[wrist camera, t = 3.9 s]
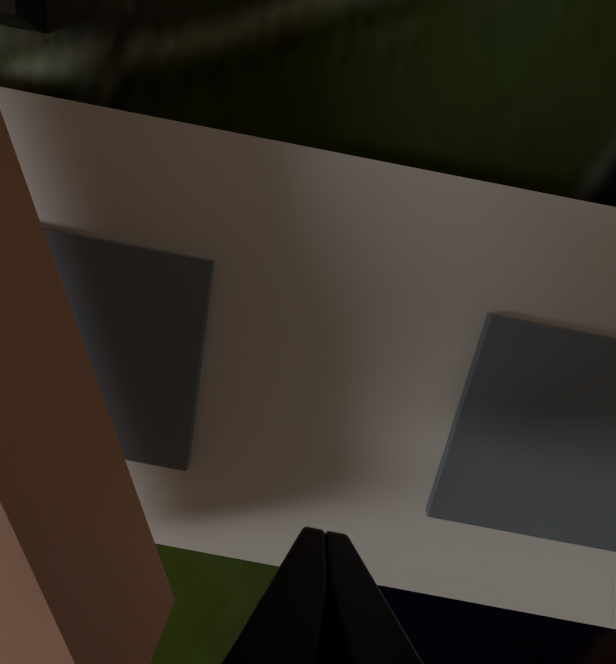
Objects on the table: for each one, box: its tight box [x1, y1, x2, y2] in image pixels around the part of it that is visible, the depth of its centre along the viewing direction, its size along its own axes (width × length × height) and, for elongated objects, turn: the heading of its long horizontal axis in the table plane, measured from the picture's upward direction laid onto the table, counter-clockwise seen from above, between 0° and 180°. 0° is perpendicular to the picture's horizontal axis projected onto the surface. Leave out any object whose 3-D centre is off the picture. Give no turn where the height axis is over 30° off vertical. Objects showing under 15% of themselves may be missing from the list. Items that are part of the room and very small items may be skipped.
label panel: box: [0, 87, 616, 629], centre depth 12 cm, size 12×26×1 cm, turn 79°
